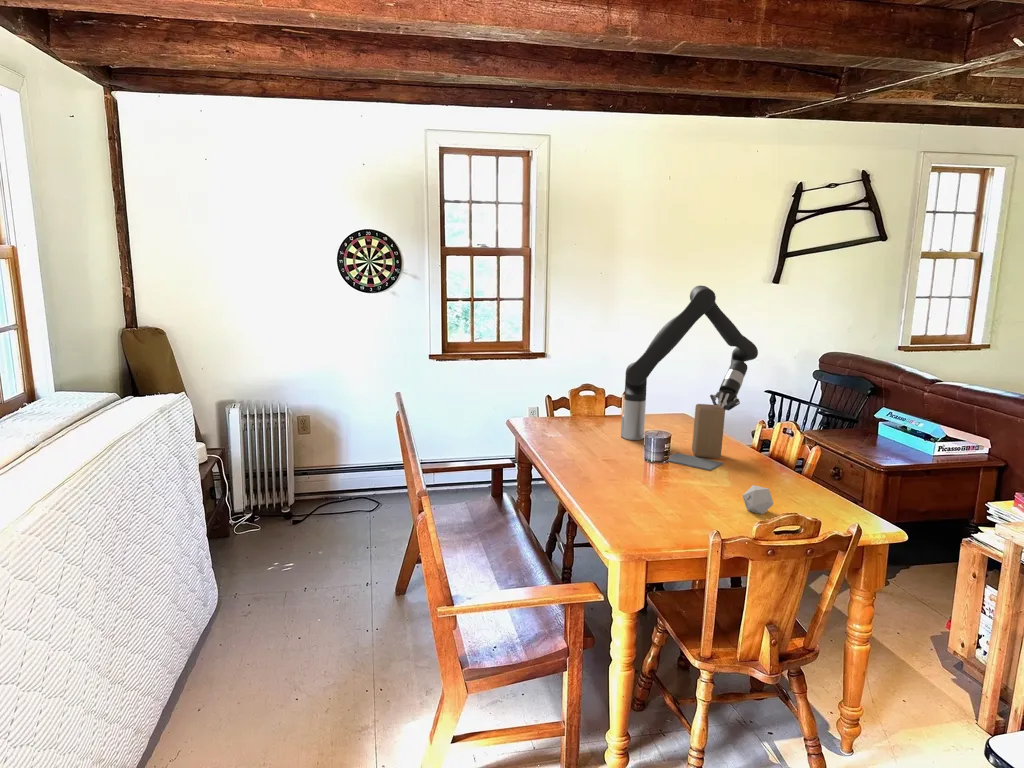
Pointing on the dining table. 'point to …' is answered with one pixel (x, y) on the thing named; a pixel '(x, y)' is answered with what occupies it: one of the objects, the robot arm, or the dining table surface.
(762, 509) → the die
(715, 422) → the wooden block
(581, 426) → the dining table surface
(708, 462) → the mat
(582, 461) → the dining table surface
